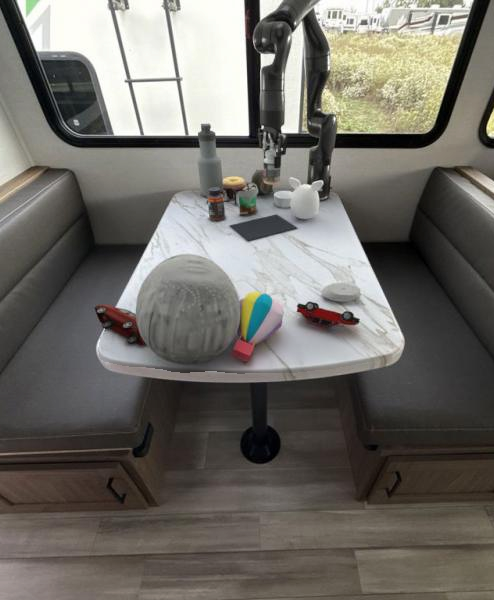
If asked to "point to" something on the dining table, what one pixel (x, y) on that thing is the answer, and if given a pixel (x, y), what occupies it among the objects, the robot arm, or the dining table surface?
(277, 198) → the ramekin
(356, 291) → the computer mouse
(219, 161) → the water bottle
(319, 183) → the piggy bank
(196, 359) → the sculpture
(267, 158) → the pill bottle
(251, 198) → the food container
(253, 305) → the hot air balloon
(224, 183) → the doughnut
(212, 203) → the supplement bottle
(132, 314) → the toy car
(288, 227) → the placemat
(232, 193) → the sunglasses
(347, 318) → the toy car
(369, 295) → the dining table surface
